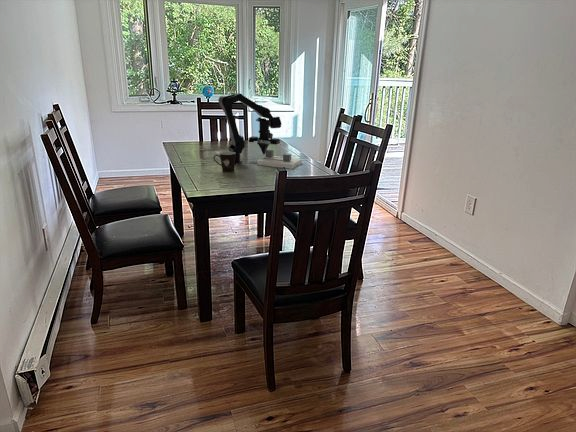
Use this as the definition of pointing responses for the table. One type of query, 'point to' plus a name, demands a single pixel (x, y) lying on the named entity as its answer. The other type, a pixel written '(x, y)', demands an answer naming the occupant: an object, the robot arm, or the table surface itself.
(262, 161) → the console
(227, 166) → the coffee mug
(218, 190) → the table surface
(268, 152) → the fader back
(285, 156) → the fader front
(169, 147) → the table surface
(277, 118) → the robot arm
